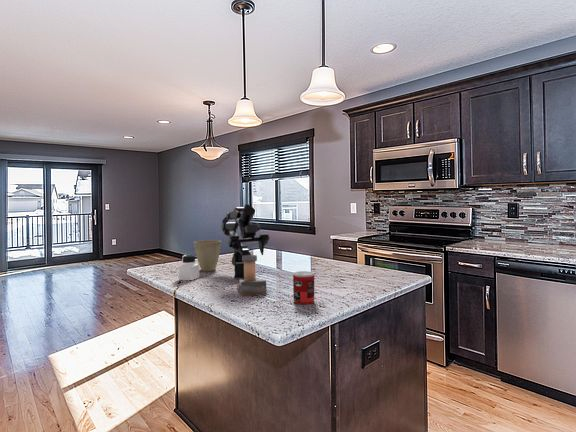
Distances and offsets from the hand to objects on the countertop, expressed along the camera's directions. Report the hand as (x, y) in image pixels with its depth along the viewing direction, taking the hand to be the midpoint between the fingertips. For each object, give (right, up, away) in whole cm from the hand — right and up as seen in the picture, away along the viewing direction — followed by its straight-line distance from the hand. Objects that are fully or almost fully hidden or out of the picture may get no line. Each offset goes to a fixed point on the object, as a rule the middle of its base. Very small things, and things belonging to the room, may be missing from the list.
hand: (253, 255), depth 163 cm
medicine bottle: (-33, -13, +14) cm, 38 cm away
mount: (0, -14, -10) cm, 17 cm away
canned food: (+22, -15, -27) cm, 38 cm away
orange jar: (-1, -12, -7) cm, 14 cm away
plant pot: (-28, -12, +36) cm, 47 cm away
